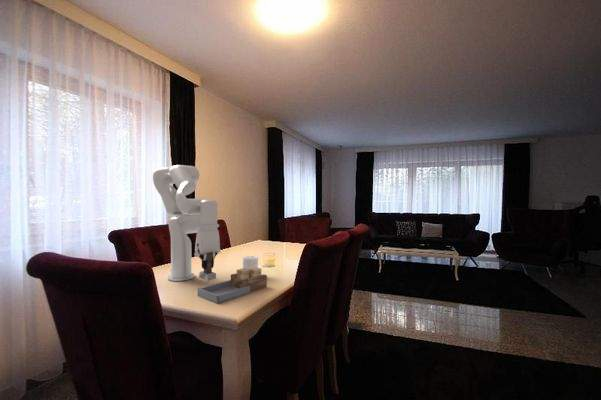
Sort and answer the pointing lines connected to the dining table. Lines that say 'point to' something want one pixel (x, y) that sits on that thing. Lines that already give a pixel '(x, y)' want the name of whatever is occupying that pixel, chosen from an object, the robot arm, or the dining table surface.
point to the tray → (222, 292)
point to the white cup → (250, 262)
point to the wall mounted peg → (208, 269)
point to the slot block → (250, 282)
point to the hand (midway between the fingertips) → (207, 267)
